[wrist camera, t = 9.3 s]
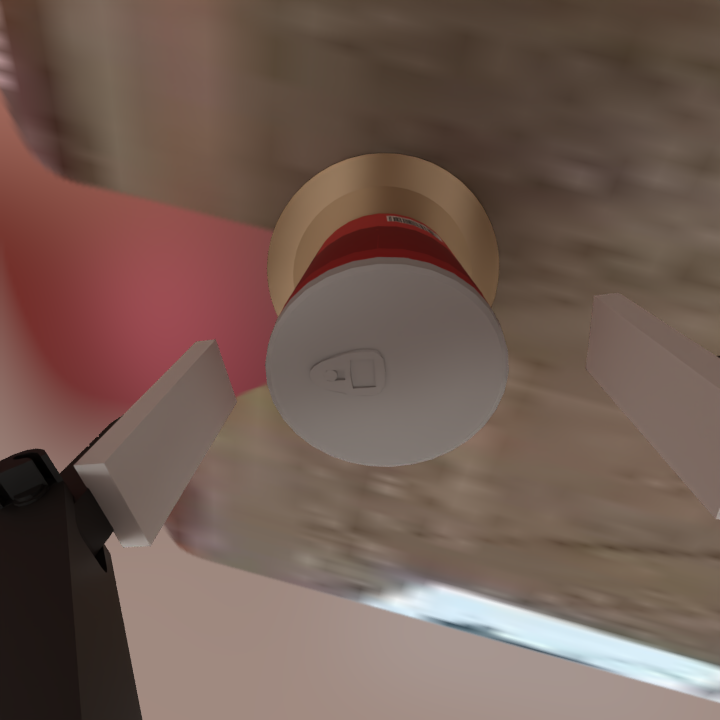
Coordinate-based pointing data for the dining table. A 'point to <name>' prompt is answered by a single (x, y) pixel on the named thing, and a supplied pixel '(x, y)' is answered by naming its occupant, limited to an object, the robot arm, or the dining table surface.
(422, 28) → the dining table surface
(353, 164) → the disc
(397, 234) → the canned food
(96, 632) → the robot arm
